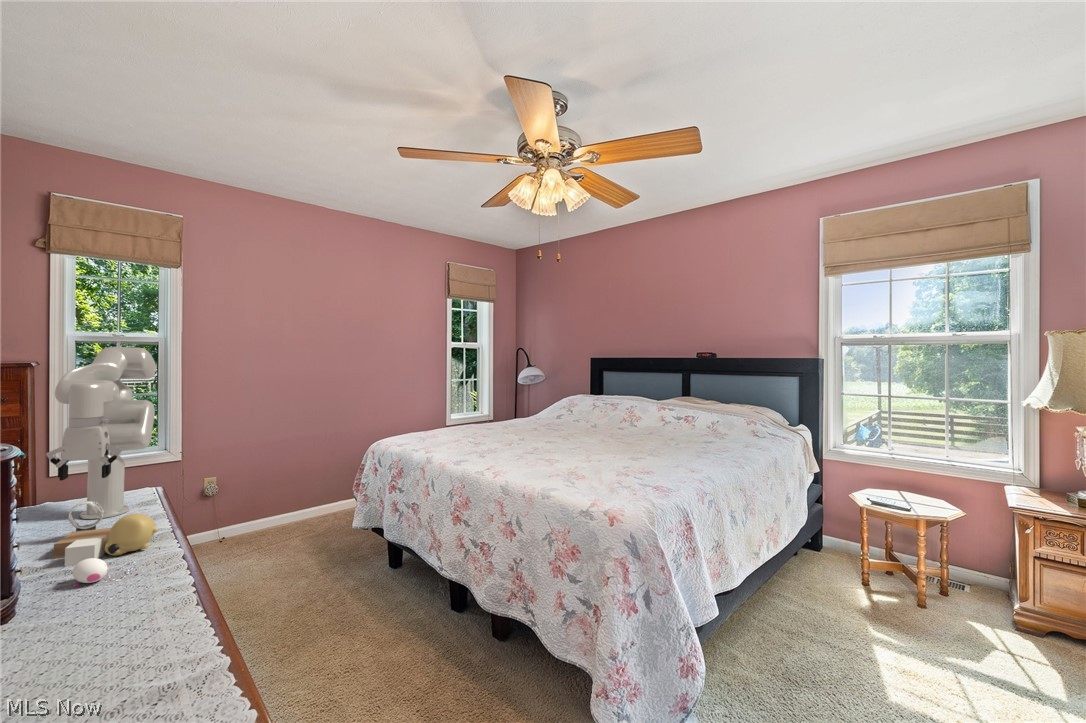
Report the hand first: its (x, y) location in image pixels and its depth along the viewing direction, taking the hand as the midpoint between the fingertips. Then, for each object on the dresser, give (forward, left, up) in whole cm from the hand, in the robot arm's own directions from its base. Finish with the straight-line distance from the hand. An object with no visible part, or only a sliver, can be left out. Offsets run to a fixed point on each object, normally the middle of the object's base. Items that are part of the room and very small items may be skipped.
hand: (84, 478), depth 140 cm
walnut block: (+10, +4, -19) cm, 22 cm away
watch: (-1, 0, -19) cm, 19 cm away
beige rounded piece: (+15, +16, -19) cm, 29 cm away
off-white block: (+19, +7, -19) cm, 28 cm away
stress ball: (+35, +15, -19) cm, 42 cm away
